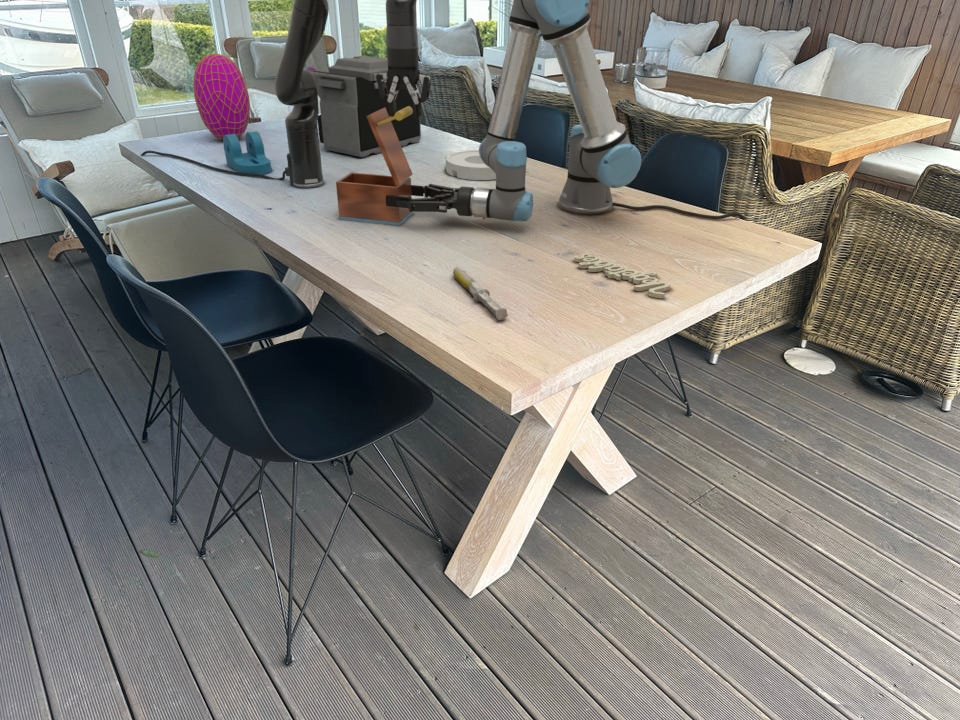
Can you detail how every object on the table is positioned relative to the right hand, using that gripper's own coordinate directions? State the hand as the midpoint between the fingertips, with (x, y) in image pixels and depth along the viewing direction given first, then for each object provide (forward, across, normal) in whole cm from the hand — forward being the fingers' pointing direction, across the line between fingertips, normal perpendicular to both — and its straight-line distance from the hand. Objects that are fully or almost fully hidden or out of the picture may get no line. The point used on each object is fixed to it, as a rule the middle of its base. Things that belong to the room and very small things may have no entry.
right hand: (393, 194), depth 184 cm
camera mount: (+64, +33, -7) cm, 72 cm away
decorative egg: (+94, +68, -7) cm, 116 cm away
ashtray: (-10, +53, -7) cm, 55 cm away
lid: (+1, 0, +12) cm, 13 cm away
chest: (+5, 0, -7) cm, 9 cm away
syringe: (-35, -42, -7) cm, 55 cm away
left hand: (-4, 0, +20) cm, 20 cm away
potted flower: (+79, +104, -7) cm, 131 cm away
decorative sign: (-64, -22, -7) cm, 68 cm away
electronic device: (+38, +75, -7) cm, 84 cm away
